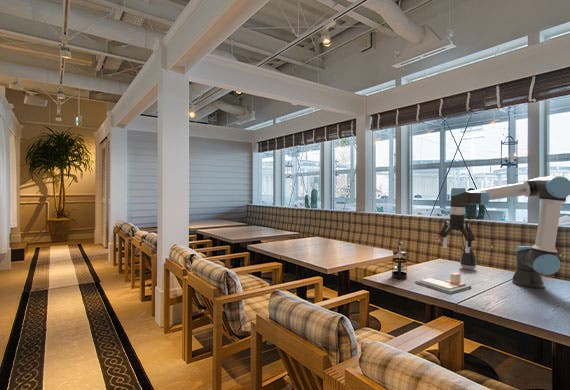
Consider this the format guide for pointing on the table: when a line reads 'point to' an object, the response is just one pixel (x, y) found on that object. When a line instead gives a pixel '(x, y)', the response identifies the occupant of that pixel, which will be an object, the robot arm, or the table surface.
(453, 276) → the stub
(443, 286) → the board
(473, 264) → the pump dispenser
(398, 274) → the french press
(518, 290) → the table surface
